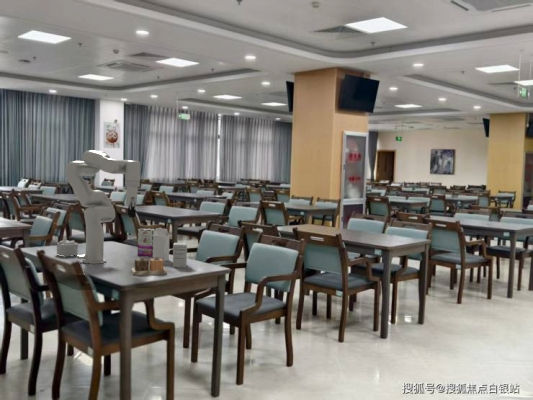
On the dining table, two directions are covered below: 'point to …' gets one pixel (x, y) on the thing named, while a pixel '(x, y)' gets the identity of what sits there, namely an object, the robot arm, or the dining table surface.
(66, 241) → the lumpy-topped squat cylinder
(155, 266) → the orange gear
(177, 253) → the supplement box
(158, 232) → the milk carton
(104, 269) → the dining table surface
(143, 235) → the candy bar box
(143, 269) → the gear board
